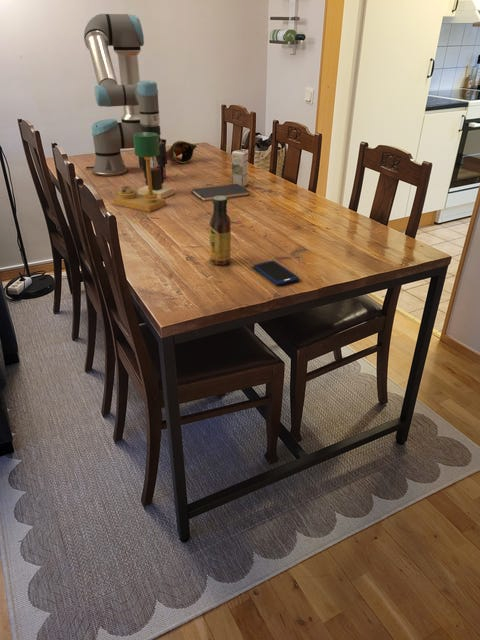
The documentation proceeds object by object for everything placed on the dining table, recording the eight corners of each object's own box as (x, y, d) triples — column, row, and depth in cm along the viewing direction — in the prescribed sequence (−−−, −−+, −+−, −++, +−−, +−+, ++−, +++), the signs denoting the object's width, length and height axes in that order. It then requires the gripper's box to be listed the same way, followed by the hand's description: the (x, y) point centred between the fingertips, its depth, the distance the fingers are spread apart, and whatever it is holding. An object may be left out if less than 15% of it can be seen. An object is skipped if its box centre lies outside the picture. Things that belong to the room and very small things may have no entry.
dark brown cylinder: (145, 189, 200) (144, 168, 196) (154, 185, 204) (152, 165, 200) (156, 191, 198) (154, 170, 193) (164, 187, 202) (163, 167, 197)
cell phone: (278, 286, 131) (278, 283, 131) (252, 267, 142) (252, 264, 141) (300, 280, 134) (300, 278, 134) (273, 262, 145) (273, 259, 144)
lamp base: (113, 203, 191) (111, 194, 189) (129, 197, 198) (128, 187, 196) (149, 211, 183) (148, 201, 181) (165, 204, 190) (165, 194, 188)
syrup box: (248, 184, 217) (248, 150, 209) (242, 187, 212) (243, 153, 205) (236, 182, 219) (237, 149, 211) (231, 185, 214) (231, 152, 207)
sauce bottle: (209, 257, 147) (208, 193, 137) (229, 257, 148) (230, 193, 137) (210, 266, 142) (208, 200, 131) (231, 266, 142) (231, 200, 132)
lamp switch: (120, 193, 190) (119, 188, 189) (126, 191, 193) (126, 185, 192) (127, 195, 189) (127, 189, 188) (134, 192, 192) (133, 187, 191)
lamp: (134, 198, 184) (127, 135, 172) (149, 192, 191) (143, 131, 179) (152, 201, 181) (147, 137, 169) (167, 195, 187) (163, 133, 175)
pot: (179, 138, 259) (194, 132, 244) (189, 157, 264) (204, 153, 249) (154, 152, 253) (167, 147, 238) (164, 172, 258) (178, 168, 243)
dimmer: (137, 195, 201) (136, 188, 200) (152, 189, 208) (151, 183, 207) (160, 199, 196) (159, 193, 195) (174, 193, 203) (174, 187, 202)
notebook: (237, 187, 213) (192, 192, 205) (237, 183, 212) (192, 189, 204) (250, 195, 203) (203, 201, 195) (250, 191, 202) (203, 197, 194)
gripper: (138, 129, 180) (143, 190, 192) (174, 123, 192) (177, 181, 204) (125, 126, 184) (131, 187, 196) (161, 121, 196) (165, 178, 208)
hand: (155, 184), depth 200 cm, fingers closed on dark brown cylinder, 6 cm apart
